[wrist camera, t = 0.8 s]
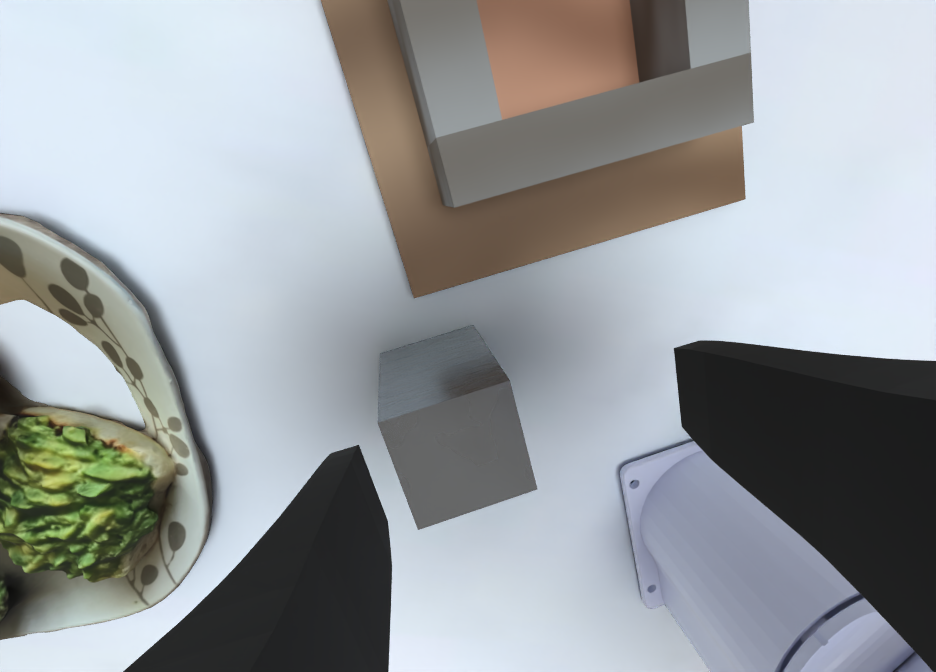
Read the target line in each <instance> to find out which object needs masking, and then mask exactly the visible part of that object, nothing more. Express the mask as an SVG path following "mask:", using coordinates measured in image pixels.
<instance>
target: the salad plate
mask: <svg viewBox="0 0 936 672" xmlns="http://www.w3.org/2000/svg"><path fill="white" fill-rule="evenodd" d="M15 300H27V301H29V302H31V303H33V304H34V305H36V306H38V307H40V308H42V309H44V310H46V311H48V312H50V313H52V314H54V315H56V316H57V317H59V318H61V319H62V320H64V321H65V322H67V323H68V324H70V325H71V326H72V327H73V328H75V329H76V330H77V331H78V332H79V333H80V334H82V335H83V336H84V337H86V338H87V339H88V340H89V341H91V342H92V343H93V344H95V345H96V346H97V347H98V348H99V349H100V350H101V351H102V352H103V353H104V354H105V355H106V357H107V358H108V359H109V360H110V361H111V362H112V364H113V365H114V367H115V368H116V370H117V371H118V372H119V373H120V374H121V375H122V376H123V378H124V379H125V381H126V383H127V385H128V387H129V389H130V391H131V393H132V396H133V398H134V400H135V401H136V404H137V406H138V408H139V410H140V413H141V415H142V417H143V420H144V423H145V429H144V430H141V431H137V430H134V429H132V428H129V427H127V426H125V425H124V424H123V423H122V422H119V421H115V420H111V419H103V418H99V417H97V416H94V415H91V414H86V413H82V412H76V411H70V410H64V409H58V408H55V407H52V406H48V405H46V404H43V403H39V402H35V401H32V400H30V399H28V398H26V397H25V396H23V395H22V394H21V392H20V391H19V390H17V389H16V388H15V387H14V386H12V385H11V384H10V383H9V382H8V381H7V380H5V379H4V378H3V377H1V376H0V640H2V639H8V638H14V637H20V636H25V635H27V634H32V633H39V632H53V631H58V630H62V629H66V628H72V627H79V626H85V625H91V624H97V623H102V622H107V621H111V620H115V619H119V618H122V617H126V616H129V615H132V614H135V613H138V612H141V611H143V610H145V609H148V608H151V607H153V606H154V605H156V604H158V603H159V602H161V601H162V600H164V599H165V598H166V597H167V596H168V595H170V594H171V593H172V592H173V591H174V590H175V589H176V588H177V587H178V586H179V585H180V584H181V583H182V581H183V580H184V579H185V577H186V576H187V574H188V573H189V572H190V570H191V569H192V567H193V566H194V564H195V562H196V561H197V559H198V557H199V555H200V553H201V551H202V549H203V547H204V545H205V543H206V541H207V538H208V535H209V531H210V526H211V520H212V502H213V497H212V483H211V474H210V469H209V465H208V463H207V461H206V458H205V456H204V455H203V453H202V452H201V450H200V449H199V447H198V446H197V444H196V443H195V440H194V438H193V435H192V431H191V428H190V424H189V421H188V418H187V416H186V413H185V407H184V403H183V401H182V398H181V394H180V388H179V385H178V382H177V380H176V377H175V375H174V373H173V370H172V368H171V366H170V364H169V363H168V361H167V359H166V357H165V355H164V352H163V350H162V348H161V346H160V344H159V342H158V340H157V338H156V336H155V334H154V331H153V330H152V324H151V321H150V319H149V316H148V313H147V311H146V309H145V307H144V306H143V305H142V304H141V302H140V301H139V300H138V299H137V298H136V297H135V295H134V294H133V293H132V292H131V291H130V290H129V289H128V288H127V287H126V286H125V285H124V284H123V283H122V282H121V281H120V280H119V279H118V278H117V277H116V276H115V274H114V273H113V272H112V271H111V270H110V269H109V268H108V267H107V266H106V265H105V264H104V263H102V262H101V261H99V260H98V259H96V258H95V257H93V256H91V255H89V254H88V253H87V252H85V251H84V250H82V249H81V248H80V247H78V246H77V245H75V244H73V243H72V242H70V241H68V240H66V239H64V238H62V237H60V236H59V235H57V234H55V233H54V232H52V231H50V230H49V229H47V228H45V227H44V226H42V225H41V224H40V223H38V222H36V221H33V220H31V219H29V218H26V217H24V216H18V215H11V214H3V213H0V305H1V304H4V303H8V302H12V301H15Z"/></svg>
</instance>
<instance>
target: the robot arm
mask: <svg viewBox="0 0 936 672" xmlns="http://www.w3.org/2000/svg"><path fill="white" fill-rule="evenodd" d="M674 354H675V364H676V373H677V383H678V393H679V403H680V413H681V423H682V427H683V429H684V430H685V431H686V432H687V433H688V434H689V436H690V437H691V438H692V439H693V440H694V441H692V442H689V443H686V444H683V445H680V446H677V447H675V448H672V449H669V450H666V451H663V452H660V453H657V454H654V455H651V456H648V457H645V458H643V459H640V460H637V461H634V462H631V463H628V464H626V465H624V466H623V467H622V469H621V471H620V478H621V484H622V489H623V495H624V500H625V506H626V512H627V517H628V523H629V529H630V534H631V540H632V546H633V551H634V557H635V562H636V568H637V574H638V579H639V585H640V591H641V596H642V601H643V603H644V604H645V606H646V607H647V608H651V609H653V608H656V607H659V606H662V605H664V604H665V606H666V607H667V608H668V610H669V611H670V613H671V614H672V616H673V617H674V619H675V620H676V622H677V623H678V625H679V626H680V628H681V629H682V631H683V632H684V634H685V635H686V636H687V638H688V639H689V641H690V642H691V644H692V645H693V647H694V648H695V650H696V651H697V653H698V654H699V656H700V657H701V659H702V660H703V661H704V663H705V664H706V666H707V667H708V669H709V670H710V672H936V361H921V360H900V359H885V358H873V357H861V356H850V355H839V354H829V353H820V352H811V351H803V350H794V349H786V348H778V347H770V346H762V345H753V344H745V343H736V342H725V341H696V342H693V343H690V344H686V345H683V346H680V347H677V348H674ZM633 480H635V481H634V482H633V483H632V484H630V482H631V481H633ZM391 583H392V561H391V548H390V538H389V528H388V521H387V518H386V515H385V513H384V510H383V507H382V505H381V502H380V499H379V497H378V494H377V492H376V489H375V486H374V484H373V481H372V478H371V476H370V473H369V470H368V468H367V465H366V463H365V460H364V457H363V455H362V452H361V449H360V447H359V445H357V446H354V447H350V448H347V449H344V450H341V451H337V452H334V453H331V454H330V455H329V456H328V457H327V458H326V459H325V460H324V461H323V462H322V464H321V465H320V466H319V467H318V469H317V470H316V471H315V472H314V474H313V475H312V476H311V478H310V479H309V480H308V481H307V483H306V484H305V485H304V487H303V488H302V489H301V490H300V492H299V493H298V494H297V495H296V497H295V498H294V499H293V501H292V502H291V503H290V504H289V506H288V507H287V508H286V509H285V511H284V512H283V513H282V514H281V516H280V517H279V518H278V519H277V520H276V522H275V523H274V524H273V525H272V526H271V527H270V528H269V530H268V531H267V532H266V533H265V534H264V535H263V537H262V538H261V539H260V540H259V541H258V542H257V543H256V545H255V546H254V547H253V548H252V549H251V550H250V552H249V553H248V554H247V555H246V556H245V557H244V558H243V560H242V561H241V562H240V563H239V564H238V565H237V566H236V567H235V568H234V569H233V570H232V571H231V572H230V573H229V574H228V575H227V576H226V578H225V579H224V580H223V581H222V582H221V583H220V584H219V585H218V586H217V587H216V588H215V589H214V590H213V591H212V592H211V593H210V594H209V595H208V596H206V597H205V598H204V599H203V600H202V601H201V602H200V603H199V604H198V605H197V606H196V607H195V608H194V609H193V610H192V611H191V612H190V613H189V614H188V615H187V616H186V617H185V618H184V619H183V620H182V621H180V622H179V623H178V624H177V625H176V626H175V627H174V628H172V629H171V630H170V631H169V632H168V633H167V634H166V635H164V636H163V637H162V638H161V639H160V640H159V641H158V642H156V643H155V644H154V645H153V646H152V647H151V648H150V649H149V650H147V651H146V652H145V653H144V654H143V655H142V656H141V657H139V658H138V659H137V660H136V661H135V662H134V663H133V664H131V665H130V666H129V667H128V668H127V669H126V670H125V671H123V672H388V666H389V640H390V613H391Z"/></svg>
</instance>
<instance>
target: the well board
mask: <svg viewBox="0 0 936 672" xmlns="http://www.w3.org/2000/svg"><path fill="white" fill-rule="evenodd" d="M321 2H322V6H323V9H324V12H325V15H326V18H327V22H328V25H329V28H330V31H331V34H332V38H333V41H334V44H335V47H336V50H337V54H338V57H339V60H340V63H341V66H342V70H343V73H344V76H345V79H346V82H347V86H348V89H349V92H350V95H351V98H352V102H353V105H354V108H355V111H356V114H357V118H358V121H359V124H360V127H361V130H362V134H363V137H364V140H365V143H366V146H367V150H368V153H369V156H370V159H371V162H372V166H373V169H374V172H375V175H376V178H377V182H378V185H379V188H380V191H381V194H382V198H383V201H384V204H385V207H386V210H387V214H388V217H389V220H390V223H391V226H392V230H393V233H394V236H395V239H396V242H397V246H398V249H399V252H400V255H401V258H402V262H403V265H404V268H405V271H406V274H407V278H408V281H409V284H410V287H411V290H412V293H413V297H414V298H417V297H420V296H424V295H427V294H430V293H434V292H437V291H441V290H444V289H447V288H451V287H454V286H457V285H461V284H464V283H467V282H471V281H474V280H477V279H481V278H484V277H487V276H491V275H494V274H497V273H501V272H504V271H507V270H511V269H514V268H517V267H521V266H524V265H527V264H531V263H534V262H537V261H541V260H544V259H547V258H551V257H554V256H557V255H561V254H564V253H567V252H571V251H574V250H577V249H581V248H584V247H587V246H591V245H594V244H597V243H601V242H604V241H607V240H611V239H614V238H617V237H621V236H624V235H627V234H631V233H634V232H637V231H641V230H644V229H648V228H651V227H654V226H658V225H661V224H664V223H668V222H671V221H674V220H678V219H681V218H684V217H688V216H691V215H694V214H698V213H701V212H704V211H708V210H711V209H714V208H718V207H721V206H724V205H728V204H731V203H734V202H738V201H741V200H744V199H745V180H744V161H743V142H742V126H743V125H746V124H750V123H753V122H754V115H753V92H752V69H751V46H750V23H749V0H321Z"/></svg>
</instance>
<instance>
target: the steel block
mask: <svg viewBox="0 0 936 672" xmlns="http://www.w3.org/2000/svg"><path fill="white" fill-rule="evenodd" d="M378 425H379V427H380V430H381V433H382V435H383V438H384V441H385V443H386V446H387V449H388V451H389V454H390V456H391V459H392V462H393V464H394V467H395V470H396V472H397V475H398V478H399V480H400V483H401V486H402V488H403V491H404V494H405V496H406V499H407V502H408V504H409V507H410V509H411V512H412V515H413V517H414V520H415V523H416V525H417V528H418V530H419V529H422V528H425V527H428V526H431V525H434V524H437V523H440V522H443V521H446V520H449V519H452V518H455V517H457V516H460V515H463V514H466V513H469V512H472V511H475V510H478V509H481V508H484V507H487V506H490V505H493V504H496V503H498V502H501V501H504V500H507V499H510V498H513V497H516V496H519V495H522V494H525V493H528V492H531V491H534V490H536V489H537V486H536V482H535V478H534V474H533V470H532V466H531V462H530V458H529V455H528V451H527V447H526V443H525V439H524V435H523V431H522V427H521V423H520V419H519V415H518V411H517V407H516V404H515V400H514V396H513V392H512V388H511V384H510V380H509V379H508V377H507V376H506V374H505V373H504V371H503V370H502V368H501V367H500V365H499V364H498V362H497V361H496V359H495V358H494V356H493V355H492V353H491V352H490V350H489V349H488V347H487V346H486V344H485V343H484V341H483V339H482V338H481V336H480V335H479V333H478V332H477V330H476V329H475V327H474V326H473V325H472V326H468V327H465V328H462V329H459V330H455V331H452V332H449V333H446V334H442V335H439V336H436V337H433V338H429V339H426V340H423V341H420V342H416V343H413V344H410V345H407V346H403V347H400V348H397V349H394V350H390V351H387V352H384V353H381V354H380V374H379V402H378Z"/></svg>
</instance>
